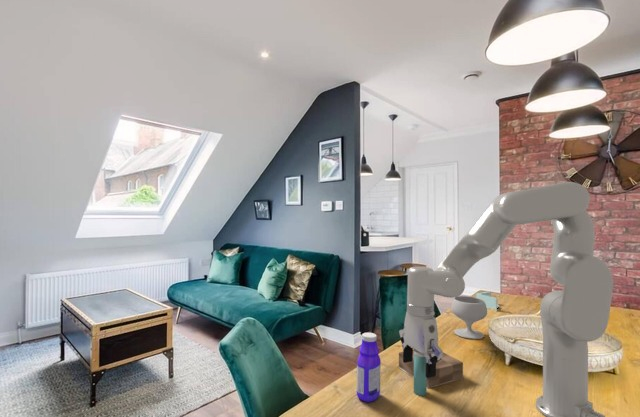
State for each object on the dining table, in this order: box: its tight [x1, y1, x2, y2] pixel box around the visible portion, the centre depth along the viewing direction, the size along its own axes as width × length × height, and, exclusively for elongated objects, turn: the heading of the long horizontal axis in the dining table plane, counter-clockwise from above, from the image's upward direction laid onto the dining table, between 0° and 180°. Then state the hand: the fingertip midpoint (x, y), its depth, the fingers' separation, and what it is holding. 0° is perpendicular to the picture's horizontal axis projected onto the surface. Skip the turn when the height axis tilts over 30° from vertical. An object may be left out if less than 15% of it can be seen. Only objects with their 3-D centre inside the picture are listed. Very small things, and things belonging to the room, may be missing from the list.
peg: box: [413, 349, 428, 397], centre depth 97 cm, size 4×4×12 cm
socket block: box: [397, 349, 465, 389], centre depth 109 cm, size 14×14×5 cm
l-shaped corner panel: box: [475, 290, 500, 311], centre depth 186 cm, size 12×12×8 cm
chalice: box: [451, 295, 488, 340], centre depth 143 cm, size 14×14×15 cm
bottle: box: [356, 332, 382, 403], centre depth 94 cm, size 7×6×17 cm
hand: (418, 368), depth 97 cm, fingers open, 9 cm apart
